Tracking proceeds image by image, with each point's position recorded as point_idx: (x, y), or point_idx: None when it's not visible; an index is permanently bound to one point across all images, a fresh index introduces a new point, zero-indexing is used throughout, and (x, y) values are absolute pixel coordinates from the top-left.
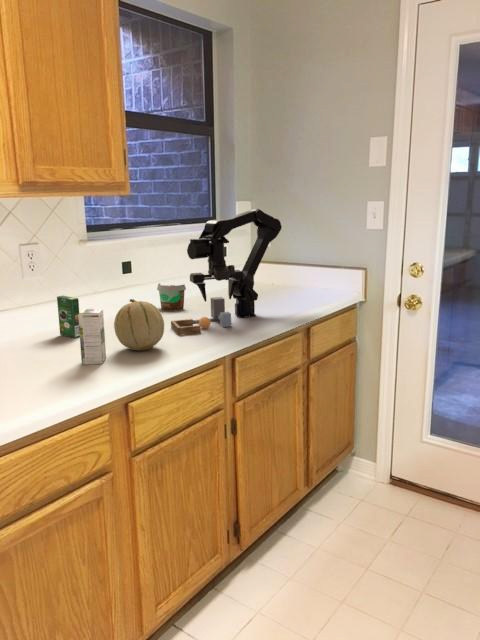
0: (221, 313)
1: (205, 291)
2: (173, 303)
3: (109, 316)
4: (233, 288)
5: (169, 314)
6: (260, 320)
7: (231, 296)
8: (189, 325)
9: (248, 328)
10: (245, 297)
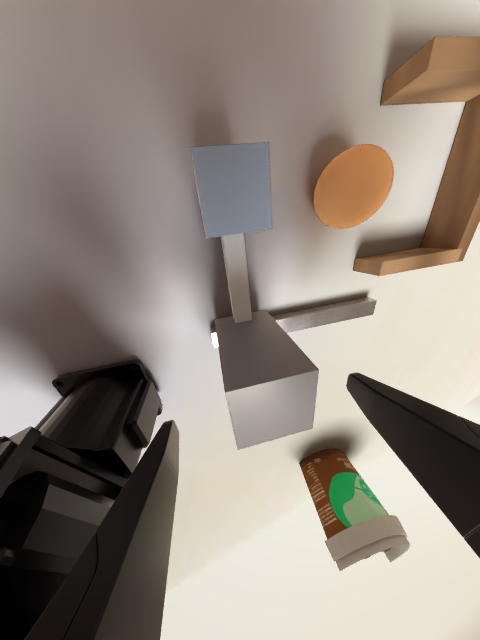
0: (269, 187)
1: (457, 437)
2: (338, 471)
3: (456, 408)
4: (77, 581)
5: (349, 418)
6: (15, 298)
7: (152, 443)
8: (372, 257)
9: (72, 79)
10: (18, 461)
